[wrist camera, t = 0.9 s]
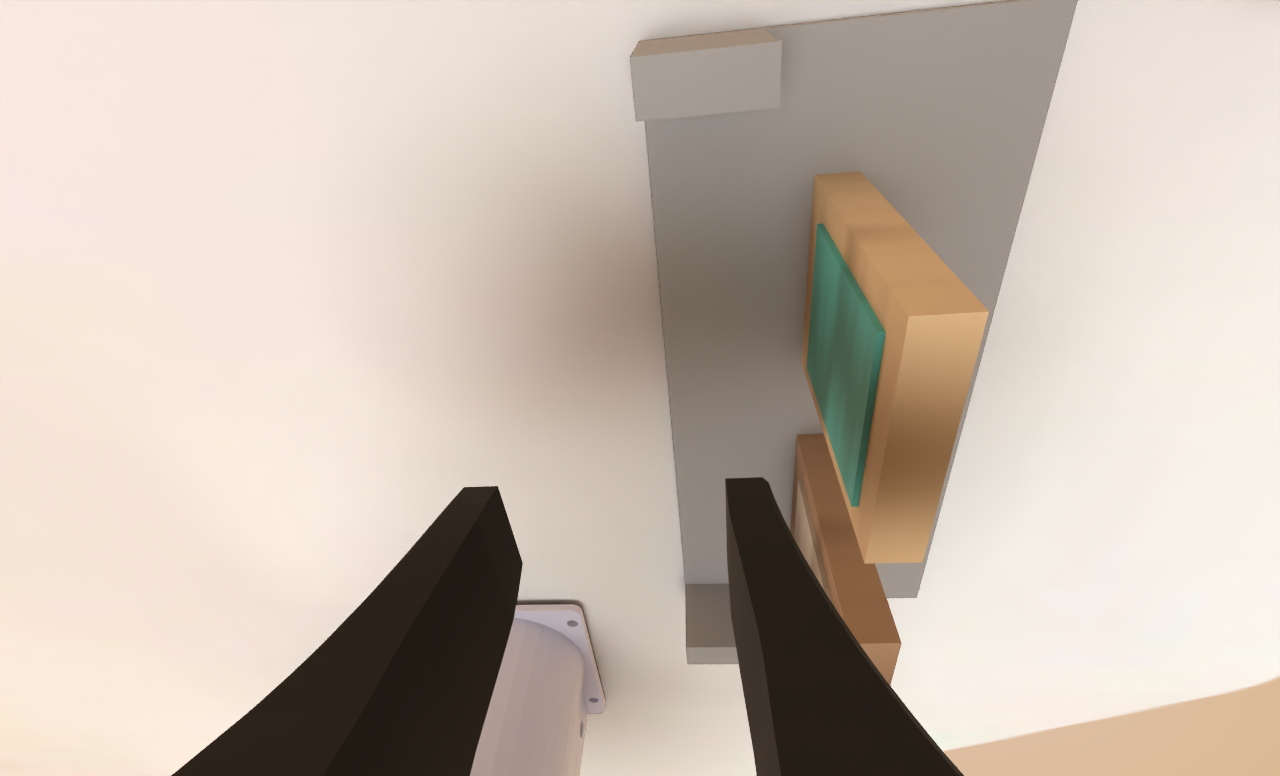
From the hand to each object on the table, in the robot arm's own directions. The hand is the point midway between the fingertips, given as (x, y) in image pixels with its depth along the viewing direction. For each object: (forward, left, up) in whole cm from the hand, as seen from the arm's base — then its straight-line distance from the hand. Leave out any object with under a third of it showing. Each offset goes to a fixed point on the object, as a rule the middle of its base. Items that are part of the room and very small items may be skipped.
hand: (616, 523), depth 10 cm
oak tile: (0, -5, -9) cm, 11 cm away
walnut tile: (-9, -5, -9) cm, 14 cm away
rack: (-4, -5, -10) cm, 12 cm away
